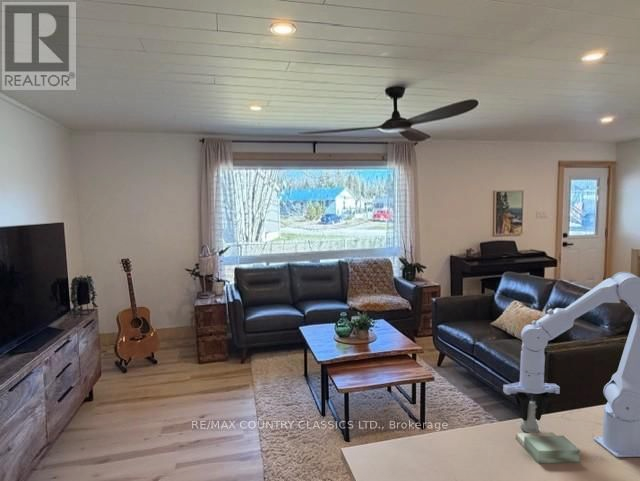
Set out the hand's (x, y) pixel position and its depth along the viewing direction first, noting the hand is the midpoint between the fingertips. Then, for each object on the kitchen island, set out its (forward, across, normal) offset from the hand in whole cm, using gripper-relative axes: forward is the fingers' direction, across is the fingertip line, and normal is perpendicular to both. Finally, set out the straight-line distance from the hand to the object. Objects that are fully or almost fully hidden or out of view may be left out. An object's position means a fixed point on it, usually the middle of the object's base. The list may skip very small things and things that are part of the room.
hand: (530, 418), depth 109 cm
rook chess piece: (+3, 0, 0) cm, 3 cm away
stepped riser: (+3, +1, +9) cm, 10 cm away
